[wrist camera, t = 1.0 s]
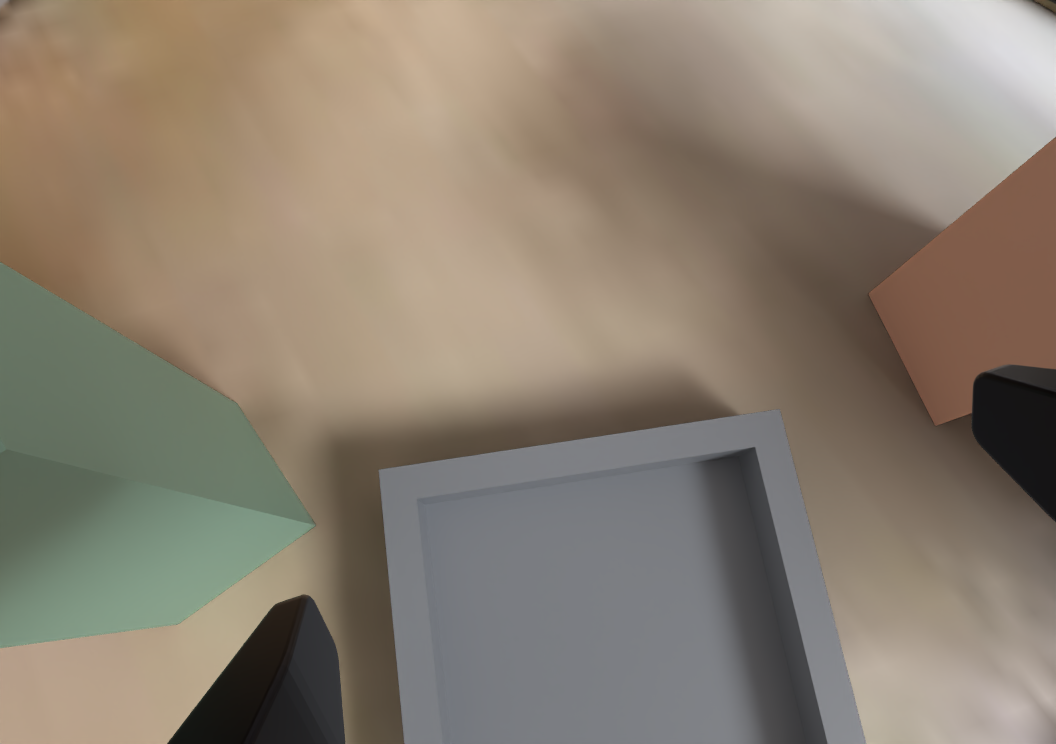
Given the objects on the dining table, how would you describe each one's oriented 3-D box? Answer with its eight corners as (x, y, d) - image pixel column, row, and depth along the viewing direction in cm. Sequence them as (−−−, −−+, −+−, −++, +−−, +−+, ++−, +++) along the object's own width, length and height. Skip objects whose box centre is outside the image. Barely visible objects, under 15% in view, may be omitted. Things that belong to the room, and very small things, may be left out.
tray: (854, 834, 20) (898, 868, 18) (436, 908, 20) (424, 954, 17) (754, 426, 24) (779, 409, 21) (394, 481, 23) (378, 469, 21)
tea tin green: (315, 525, 23) (-5, 446, 9) (178, 624, 22) (-406, 702, 8) (237, 403, 24) (-155, 169, 10) (102, 493, 23) (-521, 369, 9)
